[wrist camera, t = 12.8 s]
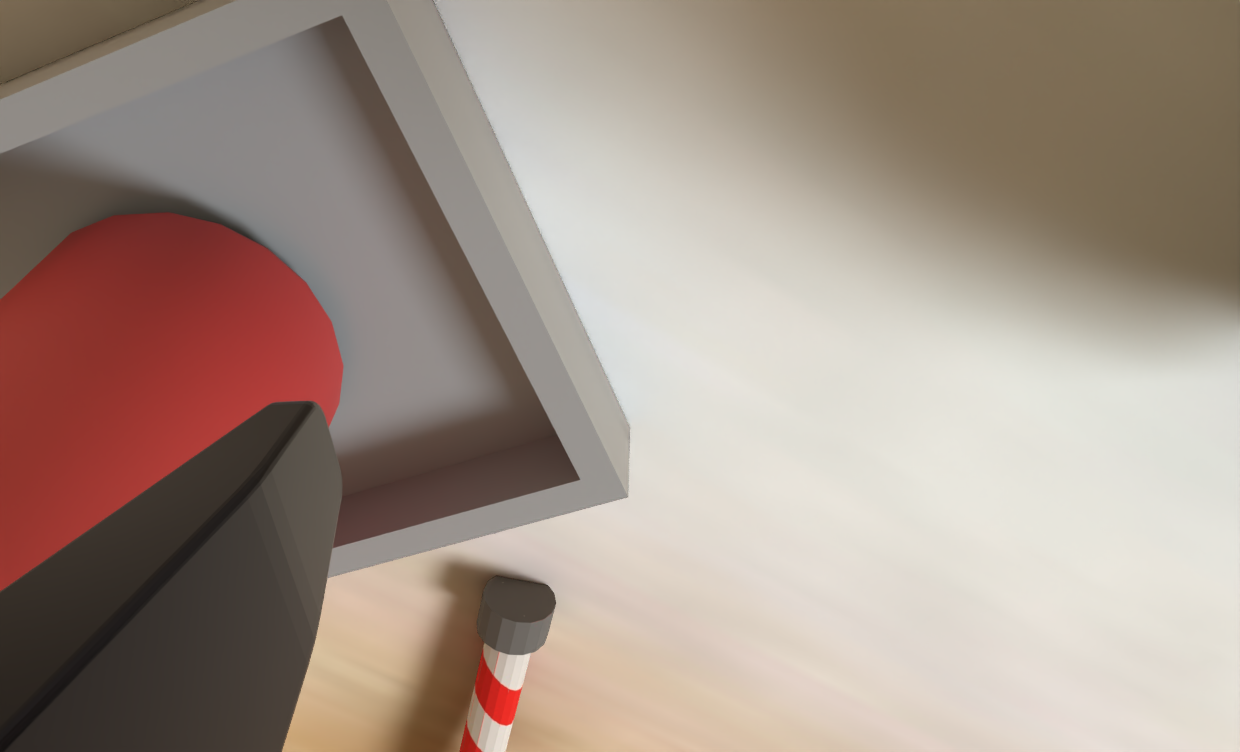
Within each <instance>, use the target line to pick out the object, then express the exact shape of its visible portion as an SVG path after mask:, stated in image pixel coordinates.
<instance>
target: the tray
mask: <svg viewBox="0 0 1240 752" xmlns="http://www.w3.org/2000/svg"><path fill="white" fill-rule="evenodd" d="M165 212H170V213H175V214H179V215H183V216H188V217H192V218H196V219H201V220H205V221H210V222H214V223H218V224H221V225H223V226H225V227H227V228H229V229H231V230H233V231H235V232H237V233H239V234H241V235H243V236H245V237H247V238H249V239H251V240H253V241H255V242H256V243H258V244H260V245H262V246H264V247H266V248H268V249H269V250H270V251H271V252H273V253H274V254H275V255H276V256H277V257H278V258H279V259H280V260H282V261H283V262H284V263H285V264H286V265H287V266H288V267H290V268H291V269H292V270H293V271H294V272H295V273H296V274H297V275H299V276H300V277H301V278H302V279H303V280H304V281H305V282H306V283H307V284H308V286H309V287H310V289H311V290H312V292H313V294H314V295H315V297H316V298H317V300H318V301H319V303H320V304H321V306H322V307H323V309H324V310H325V312H326V314H327V315H328V317H329V318H330V320H331V322H332V325H333V328H334V332H335V336H336V339H337V343H338V347H339V351H340V355H341V358H342V362H343V366H344V367H343V376H342V384H341V393H340V402H339V405H338V408H337V410H336V412H335V415H334V417H333V419H332V422H331V424H330V426H329V431H330V434H331V438H332V441H333V445H334V448H335V452H336V455H337V459H338V462H339V466H340V470H341V475H342V499H341V504H340V510H339V515H338V521H337V527H336V532H335V538H334V543H333V549H332V554H331V560H330V565H329V571H328V577H327V578H329V577H333V576H337V575H340V574H344V573H348V572H352V571H355V570H359V569H363V568H367V567H370V566H374V565H378V564H381V563H385V562H389V561H393V560H396V559H400V558H404V557H407V556H411V555H415V554H419V553H422V552H426V551H430V550H433V549H437V548H441V547H445V546H448V545H452V544H456V543H459V542H463V541H467V540H471V539H474V538H478V537H482V536H485V535H489V534H493V533H497V532H500V531H504V530H508V529H511V528H515V527H519V526H523V525H526V524H530V523H534V522H537V521H541V520H545V519H549V518H552V517H556V516H560V515H564V514H567V513H571V512H575V511H578V510H582V509H586V508H590V507H593V506H597V505H601V504H604V503H608V502H612V501H616V500H619V499H623V498H627V497H628V488H629V451H630V426H629V424H628V422H627V420H626V418H625V415H624V413H623V411H622V409H621V407H620V405H619V402H618V400H617V398H616V396H615V394H614V392H613V389H612V387H611V385H610V383H609V381H608V379H607V376H606V374H605V372H604V370H603V368H602V366H601V363H600V361H599V359H598V357H597V355H596V353H595V350H594V348H593V346H592V344H591V342H590V340H589V337H588V335H587V333H586V331H585V329H584V327H583V324H582V322H581V320H580V318H579V316H578V314H577V311H576V309H575V307H574V305H573V303H572V301H571V298H570V296H569V294H568V292H567V290H566V288H565V285H564V283H563V281H562V279H561V277H560V275H559V272H558V270H557V268H556V266H555V264H554V262H553V259H552V257H551V255H550V253H549V251H548V249H547V246H546V244H545V242H544V240H543V238H542V236H541V233H540V231H539V229H538V227H537V225H536V223H535V220H534V218H533V216H532V214H531V212H530V210H529V207H528V205H527V203H526V201H525V199H524V197H523V194H522V192H521V190H520V188H519V186H518V184H517V181H516V179H515V177H514V175H513V173H512V171H511V168H510V166H509V164H508V162H507V160H506V158H505V155H504V153H503V151H502V149H501V147H500V145H499V142H498V140H497V138H496V136H495V134H494V132H493V129H492V127H491V125H490V123H489V121H488V119H487V116H486V114H485V112H484V110H483V108H482V106H481V103H480V101H479V99H478V97H477V95H476V93H475V90H474V88H473V86H472V84H471V82H470V80H469V77H468V75H467V73H466V71H465V69H464V67H463V64H462V62H461V60H460V58H459V56H458V54H457V51H456V49H455V47H454V45H453V43H452V41H451V38H450V36H449V34H448V32H447V30H446V28H445V25H444V23H443V21H442V19H441V17H440V15H439V12H438V10H437V8H436V6H435V4H434V2H433V0H199V1H197V2H194V3H192V4H190V5H187V6H185V7H183V8H180V9H178V10H175V11H173V12H171V13H168V14H166V15H164V16H161V17H159V18H157V19H154V20H152V21H150V22H147V23H145V24H142V25H140V26H138V27H135V28H133V29H131V30H128V31H126V32H124V33H121V34H119V35H117V36H114V37H112V38H109V39H107V40H105V41H102V42H100V43H98V44H95V45H93V46H91V47H88V48H86V49H84V50H81V51H79V52H76V53H74V54H72V55H69V56H67V57H65V58H62V59H60V60H58V61H55V62H53V63H51V64H48V65H46V66H43V67H41V68H39V69H36V70H34V71H32V72H29V73H27V74H25V75H22V76H20V77H18V78H15V79H13V80H10V81H8V82H6V83H3V84H1V85H0V299H2V298H3V297H4V296H5V295H6V294H7V293H8V292H9V291H10V290H11V289H12V288H13V287H14V286H15V285H16V284H17V283H18V282H20V281H21V280H22V279H23V278H24V277H25V276H26V275H27V274H28V273H29V272H30V271H31V270H32V269H33V268H34V267H35V266H36V265H37V264H39V263H40V262H41V261H42V260H43V259H44V258H45V257H46V256H47V255H48V254H49V253H50V252H51V251H52V250H53V249H54V248H55V247H57V246H58V245H59V244H60V243H61V242H62V241H63V240H64V239H65V238H66V237H67V236H68V235H69V234H70V233H72V232H74V231H76V230H79V229H81V228H84V227H86V226H89V225H91V224H93V223H96V222H98V221H101V220H103V219H106V218H108V217H111V216H113V215H128V214H146V213H165Z"/></svg>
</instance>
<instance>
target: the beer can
mask: <svg viewBox="0 0 1240 752" xmlns="http://www.w3.org/2000/svg"><path fill="white" fill-rule="evenodd" d="M343 367H344V366H343V362H342V358H341V355H340V351H339V347H338V343H337V339H336V336H335V332H334V328H333V325H332V322H331V320H330V318H329V317H328V315H327V314H326V312H325V310H324V309H323V307H322V306H321V304H320V303H319V301H318V300H317V298H316V297H315V295H314V294H313V292H312V290H311V289H310V287H309V286H308V284H307V283H306V282H305V281H304V280H303V279H302V278H301V277H300V276H299V275H297V274H296V273H295V272H294V271H293V270H292V269H291V268H290V267H288V266H287V265H286V264H285V263H284V262H283V261H282V260H280V259H279V258H278V257H277V256H276V255H275V254H274V253H273V252H271V251H270V250H269V249H268V248H266V247H264V246H262V245H260V244H258V243H256V242H255V241H253V240H251V239H249V238H247V237H245V236H243V235H241V234H239V233H237V232H235V231H233V230H231V229H229V228H227V227H225V226H223V225H221V224H218V223H214V222H210V221H205V220H201V219H196V218H192V217H188V216H183V215H179V214H175V213H170V212H165V213H146V214H128V215H113V216H111V217H108V218H106V219H103V220H101V221H98V222H96V223H93V224H91V225H89V226H86V227H84V228H81V229H79V230H76V231H74V232H72V233H70V234H69V235H68V236H67V237H66V238H65V239H64V240H63V241H62V242H61V243H60V244H59V245H58V246H57V247H55V248H54V249H53V250H52V251H51V252H50V253H49V254H48V255H47V256H46V257H45V258H44V259H43V260H42V261H41V262H40V263H39V264H37V265H36V266H35V267H34V268H33V269H32V270H31V271H30V272H29V273H28V274H27V275H26V276H25V277H24V278H23V279H22V280H21V281H20V282H18V283H17V284H16V285H15V286H14V287H13V288H12V289H11V290H10V291H9V292H8V293H7V294H6V295H5V296H4V297H3V298H2V299H0V591H1V590H3V589H4V588H6V587H7V586H8V585H10V584H11V583H13V582H14V581H16V580H17V579H19V578H20V577H21V576H23V575H24V574H26V573H27V572H29V571H30V570H31V569H33V568H34V567H36V566H37V565H39V564H40V563H42V562H43V561H44V560H46V559H47V558H49V557H50V556H52V555H53V554H54V553H56V552H57V551H59V550H60V549H62V548H63V547H65V546H66V545H67V544H69V543H70V542H72V541H73V540H75V539H76V538H77V537H79V536H80V535H82V534H83V533H85V532H86V531H88V530H89V529H90V528H92V527H93V526H95V525H96V524H98V523H99V522H100V521H102V520H103V519H105V518H106V517H108V516H109V515H111V514H112V513H113V512H115V511H116V510H118V509H119V508H121V507H122V506H123V505H125V504H126V503H128V502H129V501H131V500H132V499H134V498H135V497H136V496H138V495H139V494H141V493H142V492H144V491H145V490H146V489H148V488H149V487H151V486H152V485H154V484H155V483H156V482H158V481H159V480H161V479H162V478H164V477H165V476H167V475H168V474H169V473H171V472H172V471H174V470H175V469H177V468H178V467H179V466H181V465H182V464H184V463H185V462H187V461H188V460H190V459H191V458H192V457H194V456H195V455H197V454H198V453H200V452H201V451H202V450H204V449H205V448H207V447H208V446H210V445H211V444H212V443H214V442H215V441H217V440H218V439H220V438H221V437H223V436H224V435H225V434H227V433H228V432H230V431H231V430H233V429H234V428H235V427H237V426H238V425H240V424H241V423H243V422H244V421H245V420H247V419H248V418H250V417H251V416H253V415H254V414H256V413H257V412H258V411H260V410H261V409H263V408H264V407H266V406H267V405H269V404H271V403H274V402H285V401H314V402H316V403H317V404H319V405H320V407H321V408H322V410H323V412H324V414H325V417H326V420H327V424H328V427H329V426H330V424H331V422H332V419H333V417H334V415H335V412H336V410H337V408H338V405H339V402H340V393H341V384H342V376H343Z"/></svg>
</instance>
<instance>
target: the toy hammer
mask: <svg viewBox="0 0 1240 752" xmlns="http://www.w3.org/2000/svg"><path fill="white" fill-rule="evenodd" d="M555 605H556V600H555V595H554V593H553V591H552V590H551V589H550V587H549V586H548V585H543V584H537V583H532V582H526V581H521V580H515V579H510V578H504V577H499V576H495V577H494V578H492V579H491V580H489V581H488V583H487V585H486V587H485V589H484V591H483V596H482V600H481V605H480V609H479V614H478V618H477V631H478V634H479V636H480V637H481V639H482V640H483V642H484V646H483V651H482V655H481V659H480V664H479V668H478V673H477V677H476V681H475V686H474V690H473V695H472V699H471V703H470V708H469V712H468V717H467V721H466V725H465V730H464V734H463V739H462V743H461V747H460V752H505V751H506V748H507V744H508V740H509V736H510V732H511V728H512V724H513V720H514V717H515V713H516V709H517V705H518V701H519V697H520V693H521V689H522V685H523V682H524V678H525V674H526V670H527V666H528V662H529V659H530V655H531V653H532V652H535V651H537V650H538V649H539V648H540V647H541V646H543V645H544V643H545V641H546V638H547V635H548V632H549V628H550V624H551V620H552V617H553V613H554V609H555Z"/></svg>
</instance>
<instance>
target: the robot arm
mask: <svg viewBox="0 0 1240 752" xmlns="http://www.w3.org/2000/svg"><path fill="white" fill-rule="evenodd" d="M341 499H342V475H341V470H340V466H339V462H338V459H337V455H336V452H335V448H334V445H333V441H332V438H331V434H330V431H329V427H328V424H327V420H326V417H325V414H324V412H323V410H322V408H321V407H320V405H319V404H317V403H316V402H314V401H285V402H274V403H271V404H269V405H267V406H266V407H264V408H263V409H261V410H260V411H258V412H257V413H256V414H254V415H253V416H251V417H250V418H248V419H247V420H245V421H244V422H243V423H241V424H240V425H238V426H237V427H235V428H234V429H233V430H231V431H230V432H228V433H227V434H225V435H224V436H223V437H221V438H220V439H218V440H217V441H215V442H214V443H212V444H211V445H210V446H208V447H207V448H205V449H204V450H202V451H201V452H200V453H198V454H197V455H195V456H194V457H192V458H191V459H190V460H188V461H187V462H185V463H184V464H182V465H181V466H179V467H178V468H177V469H175V470H174V471H172V472H171V473H169V474H168V475H167V476H165V477H164V478H162V479H161V480H159V481H158V482H156V483H155V484H154V485H152V486H151V487H149V488H148V489H146V490H145V491H144V492H142V493H141V494H139V495H138V496H136V497H135V498H134V499H132V500H131V501H129V502H128V503H126V504H125V505H123V506H122V507H121V508H119V509H118V510H116V511H115V512H113V513H112V514H111V515H109V516H108V517H106V518H105V519H103V520H102V521H100V522H99V523H98V524H96V525H95V526H93V527H92V528H90V529H89V530H88V531H86V532H85V533H83V534H82V535H80V536H79V537H77V538H76V539H75V540H73V541H72V542H70V543H69V544H67V545H66V546H65V547H63V548H62V549H60V550H59V551H57V552H56V553H54V554H53V555H52V556H50V557H49V558H47V559H46V560H44V561H43V562H42V563H40V564H39V565H37V566H36V567H34V568H33V569H31V570H30V571H29V572H27V573H26V574H24V575H23V576H21V577H20V578H19V579H17V580H16V581H14V582H13V583H11V584H10V585H8V586H7V587H6V588H4V589H3V590H1V591H0V752H282V749H283V746H284V743H285V740H286V736H287V733H288V730H289V727H290V723H291V720H292V717H293V714H294V711H295V707H296V704H297V701H298V698H299V694H300V691H301V688H302V685H303V681H304V678H305V675H306V672H307V668H308V665H309V662H310V658H311V654H312V651H313V647H314V644H315V640H316V635H317V630H318V625H319V620H320V615H321V610H322V604H323V599H324V593H325V588H326V582H327V577H328V571H329V565H330V560H331V554H332V549H333V543H334V538H335V532H336V527H337V521H338V515H339V510H340V504H341Z"/></svg>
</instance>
